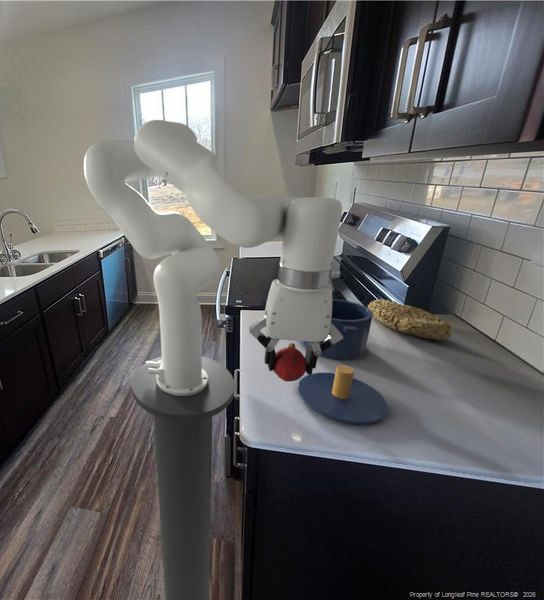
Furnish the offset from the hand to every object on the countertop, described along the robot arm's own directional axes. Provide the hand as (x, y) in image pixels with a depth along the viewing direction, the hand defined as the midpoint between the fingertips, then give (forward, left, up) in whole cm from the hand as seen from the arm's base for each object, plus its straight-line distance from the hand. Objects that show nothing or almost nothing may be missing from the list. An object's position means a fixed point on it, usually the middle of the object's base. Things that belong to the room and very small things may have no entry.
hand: (288, 367), depth 59 cm
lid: (+12, +6, -10) cm, 16 cm away
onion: (0, 0, -3) cm, 3 cm away
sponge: (+39, +41, -10) cm, 57 cm away
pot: (+17, +29, -10) cm, 35 cm away
